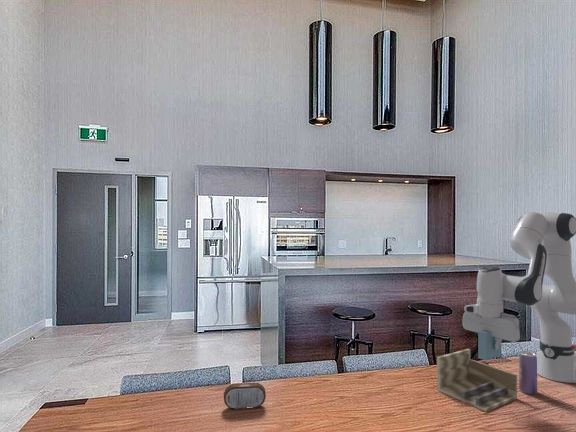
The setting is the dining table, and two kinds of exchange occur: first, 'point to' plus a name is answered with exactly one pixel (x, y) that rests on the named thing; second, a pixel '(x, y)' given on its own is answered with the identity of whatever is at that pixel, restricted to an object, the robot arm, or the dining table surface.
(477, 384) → the rack
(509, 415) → the dining table surface
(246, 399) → the tin
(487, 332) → the light blue flat block
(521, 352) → the beverage can
